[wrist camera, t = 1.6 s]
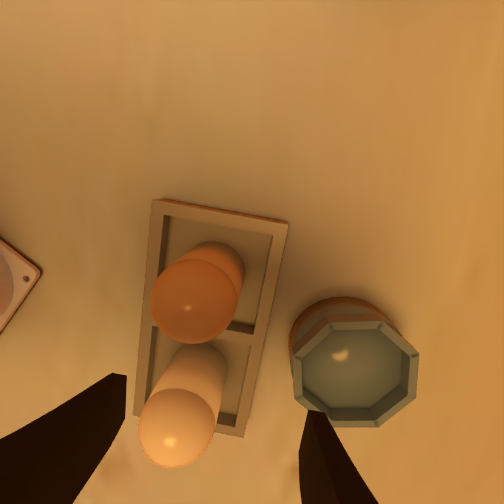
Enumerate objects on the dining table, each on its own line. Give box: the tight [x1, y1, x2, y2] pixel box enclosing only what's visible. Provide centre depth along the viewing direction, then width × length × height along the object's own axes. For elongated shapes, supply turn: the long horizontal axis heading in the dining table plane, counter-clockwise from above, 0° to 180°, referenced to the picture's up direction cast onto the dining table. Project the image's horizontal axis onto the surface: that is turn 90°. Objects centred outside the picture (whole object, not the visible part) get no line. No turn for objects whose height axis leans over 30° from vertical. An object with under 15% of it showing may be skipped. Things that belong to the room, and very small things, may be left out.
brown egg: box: [151, 241, 245, 344], centre depth 16 cm, size 4×4×7 cm
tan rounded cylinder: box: [138, 343, 228, 468], centre depth 17 cm, size 4×4×7 cm
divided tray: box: [133, 199, 289, 438], centre depth 20 cm, size 16×9×2 cm, turn 170°
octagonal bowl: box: [288, 297, 419, 427], centre depth 18 cm, size 8×8×4 cm
